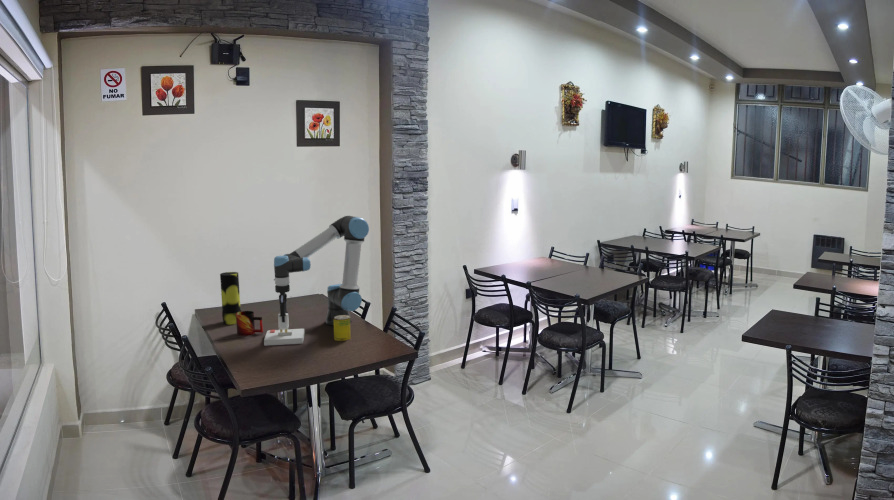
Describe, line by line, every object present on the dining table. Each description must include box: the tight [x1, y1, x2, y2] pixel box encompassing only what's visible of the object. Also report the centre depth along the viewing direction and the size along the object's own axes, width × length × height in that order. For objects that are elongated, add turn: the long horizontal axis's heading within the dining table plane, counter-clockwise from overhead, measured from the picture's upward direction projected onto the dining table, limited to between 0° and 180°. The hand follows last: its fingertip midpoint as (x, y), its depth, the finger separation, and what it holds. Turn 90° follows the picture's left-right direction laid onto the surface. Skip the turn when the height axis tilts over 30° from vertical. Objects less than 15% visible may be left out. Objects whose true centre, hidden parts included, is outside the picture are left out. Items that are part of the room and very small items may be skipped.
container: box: [219, 271, 242, 326], centre depth 370 cm, size 11×11×30 cm
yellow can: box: [333, 315, 352, 342], centre depth 339 cm, size 9×9×12 cm
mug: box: [236, 310, 264, 337], centre depth 349 cm, size 10×14×12 cm
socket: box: [263, 328, 305, 347], centre depth 338 cm, size 20×18×4 cm
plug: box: [277, 312, 290, 333], centre depth 337 cm, size 5×4×10 cm
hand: (284, 326), depth 337 cm, fingers closed on plug, 4 cm apart
